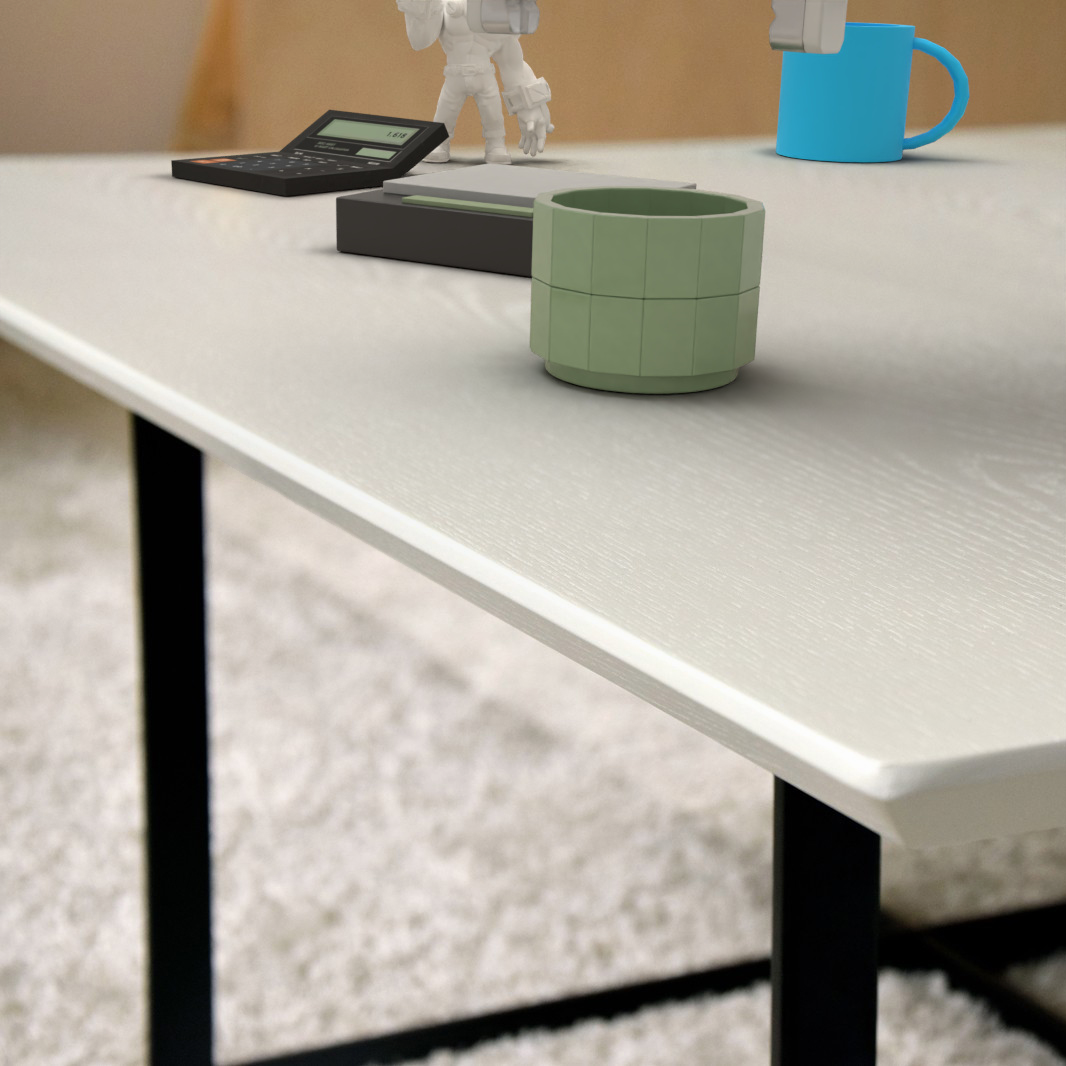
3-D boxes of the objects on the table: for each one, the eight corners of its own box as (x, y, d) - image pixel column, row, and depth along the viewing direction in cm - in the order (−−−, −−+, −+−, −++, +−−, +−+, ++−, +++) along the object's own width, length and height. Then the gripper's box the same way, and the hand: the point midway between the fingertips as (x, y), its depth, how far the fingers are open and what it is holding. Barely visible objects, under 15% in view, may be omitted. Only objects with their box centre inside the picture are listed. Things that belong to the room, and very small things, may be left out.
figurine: (418, 170, 93) (418, -53, 89) (371, 160, 97) (369, -54, 93) (561, 161, 99) (567, -49, 95) (511, 152, 102) (515, -50, 98)
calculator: (172, 176, 87) (169, 119, 86) (335, 161, 96) (334, 109, 95) (285, 196, 82) (284, 134, 81) (448, 178, 90) (449, 122, 89)
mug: (775, 159, 103) (785, 24, 101) (775, 145, 111) (785, 20, 108) (969, 167, 102) (984, 30, 99) (956, 153, 109) (970, 26, 107)
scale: (714, 247, 70) (718, 184, 69) (593, 285, 61) (596, 213, 60) (477, 219, 76) (479, 160, 75) (335, 251, 67) (334, 184, 66)
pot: (786, 364, 50) (799, 199, 48) (693, 411, 44) (704, 226, 43) (596, 335, 53) (602, 179, 51) (487, 376, 47) (490, 202, 46)
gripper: (1132, -542, 39) (1050, 62, 43) (418, -465, 48) (412, 23, 53) (1070, -627, 34) (984, 69, 38) (284, -521, 43) (290, 25, 48)
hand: (646, 42), depth 46 cm, fingers open, 8 cm apart
